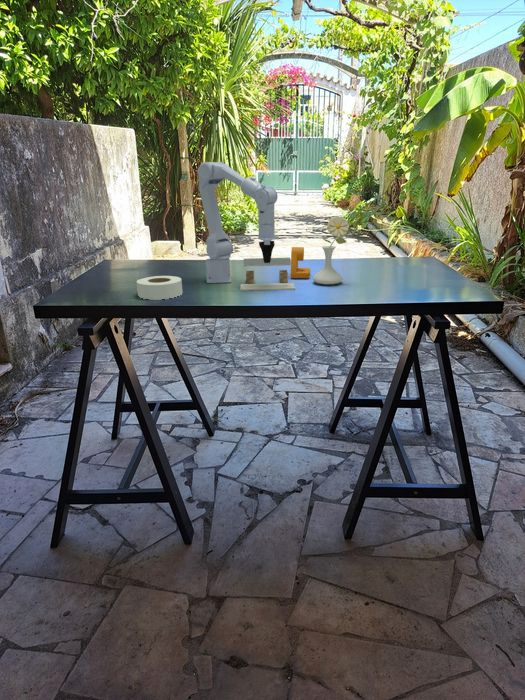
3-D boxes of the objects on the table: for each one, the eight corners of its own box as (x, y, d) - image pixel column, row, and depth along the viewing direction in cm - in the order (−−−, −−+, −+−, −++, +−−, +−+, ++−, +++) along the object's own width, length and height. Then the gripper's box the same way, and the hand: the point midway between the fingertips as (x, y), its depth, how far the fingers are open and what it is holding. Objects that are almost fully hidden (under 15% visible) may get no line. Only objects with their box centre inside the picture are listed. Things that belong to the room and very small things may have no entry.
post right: (279, 283, 184) (279, 272, 183) (279, 280, 189) (279, 270, 187) (287, 283, 184) (287, 272, 183) (286, 280, 189) (286, 269, 187)
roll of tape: (141, 290, 178) (140, 275, 176) (184, 289, 179) (183, 274, 177) (134, 301, 163) (132, 285, 161) (180, 299, 164) (179, 284, 162)
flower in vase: (309, 285, 180) (310, 217, 171) (316, 279, 190) (318, 214, 181) (343, 287, 176) (346, 217, 167) (349, 281, 186) (352, 214, 177)
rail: (243, 266, 174) (243, 259, 173) (243, 265, 176) (243, 258, 175) (290, 265, 174) (290, 258, 173) (290, 264, 176) (290, 257, 175)
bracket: (308, 279, 189) (309, 249, 185) (290, 279, 191) (290, 249, 186) (310, 274, 199) (310, 245, 195) (292, 274, 200) (293, 245, 196)
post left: (246, 284, 184) (245, 273, 183) (246, 281, 189) (246, 270, 187) (253, 283, 184) (253, 273, 183) (254, 281, 189) (253, 270, 187)
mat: (240, 290, 174) (240, 289, 174) (240, 285, 182) (240, 284, 181) (295, 289, 174) (295, 288, 174) (293, 284, 182) (293, 283, 182)
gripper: (278, 225, 163) (278, 265, 168) (276, 221, 177) (277, 258, 181) (257, 226, 163) (258, 265, 168) (257, 221, 177) (258, 258, 181)
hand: (267, 262), depth 175 cm, fingers closed on rail, 2 cm apart
